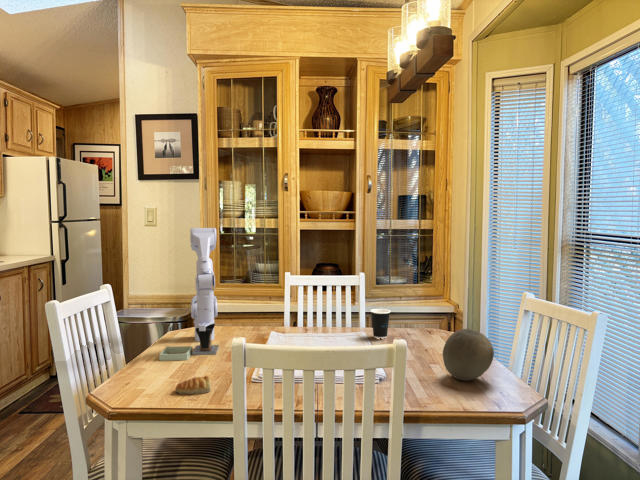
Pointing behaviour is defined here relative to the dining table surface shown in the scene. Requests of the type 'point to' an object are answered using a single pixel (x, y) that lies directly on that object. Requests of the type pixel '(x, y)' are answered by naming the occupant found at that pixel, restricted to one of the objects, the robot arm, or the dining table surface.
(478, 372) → the cantaloupe
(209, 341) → the strut
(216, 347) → the socket block
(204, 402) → the dining table surface
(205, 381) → the pastry
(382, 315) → the dixie cup
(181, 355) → the bin
